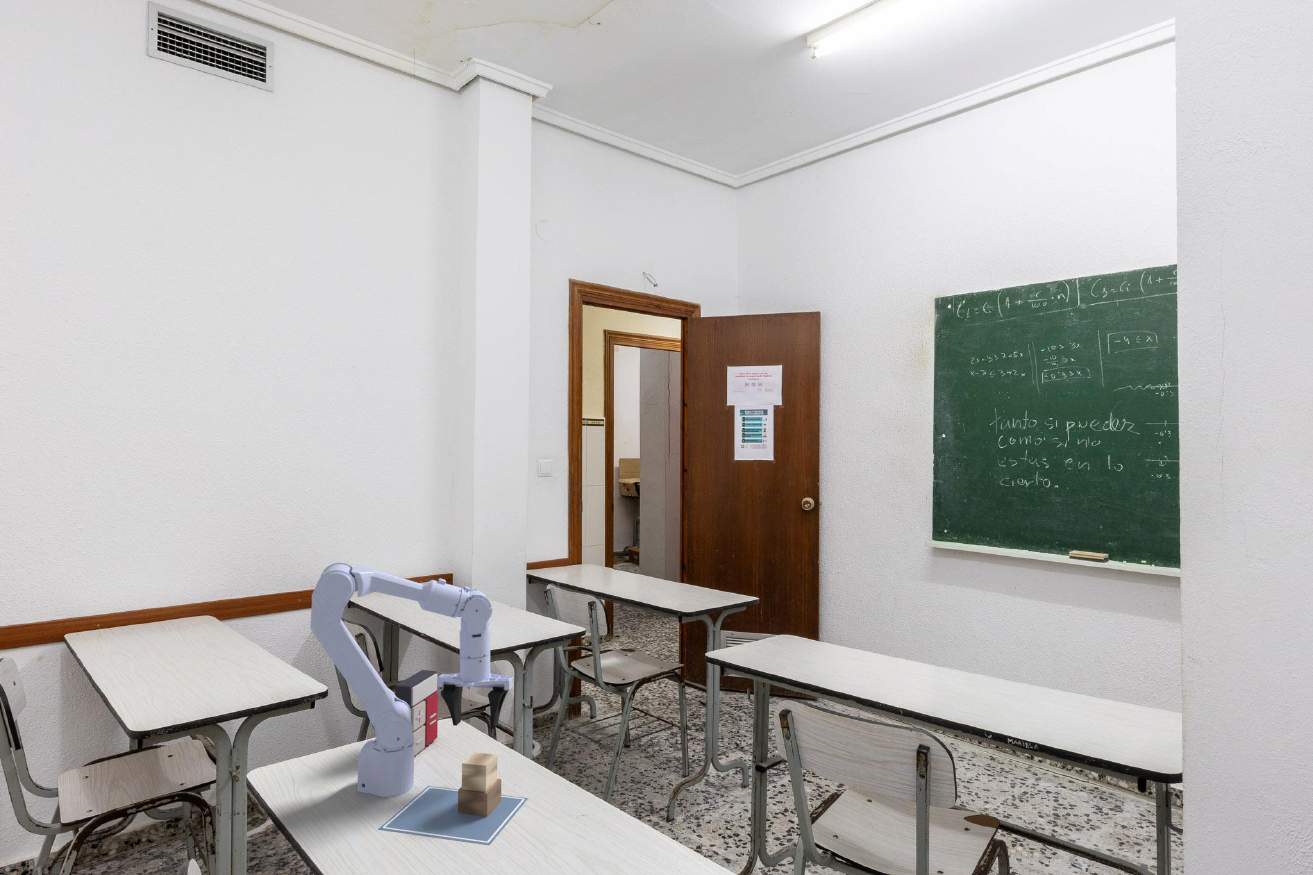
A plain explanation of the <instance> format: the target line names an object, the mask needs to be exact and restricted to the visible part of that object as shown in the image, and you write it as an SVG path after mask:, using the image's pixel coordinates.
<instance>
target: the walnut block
mask: <svg viewBox="0 0 1313 875" xmlns="http://www.w3.org/2000/svg"><path fill="white" fill-rule="evenodd" d="M457 790H458V813H460V814H468V815H475V816H483V817H488V816H489V814H490V813H491V812H492V811H493V810H494V809H495V808H496V807H497V806H498V804H499V803H500V802H501V795H502V778H497V781H496V782H495V783H494V784H493V785H492V786H491V787H490V788H489V789H488V790H487V791H486V792H481V791H472V790H463V789H462V786H460V788H458V789H457Z"/></svg>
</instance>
